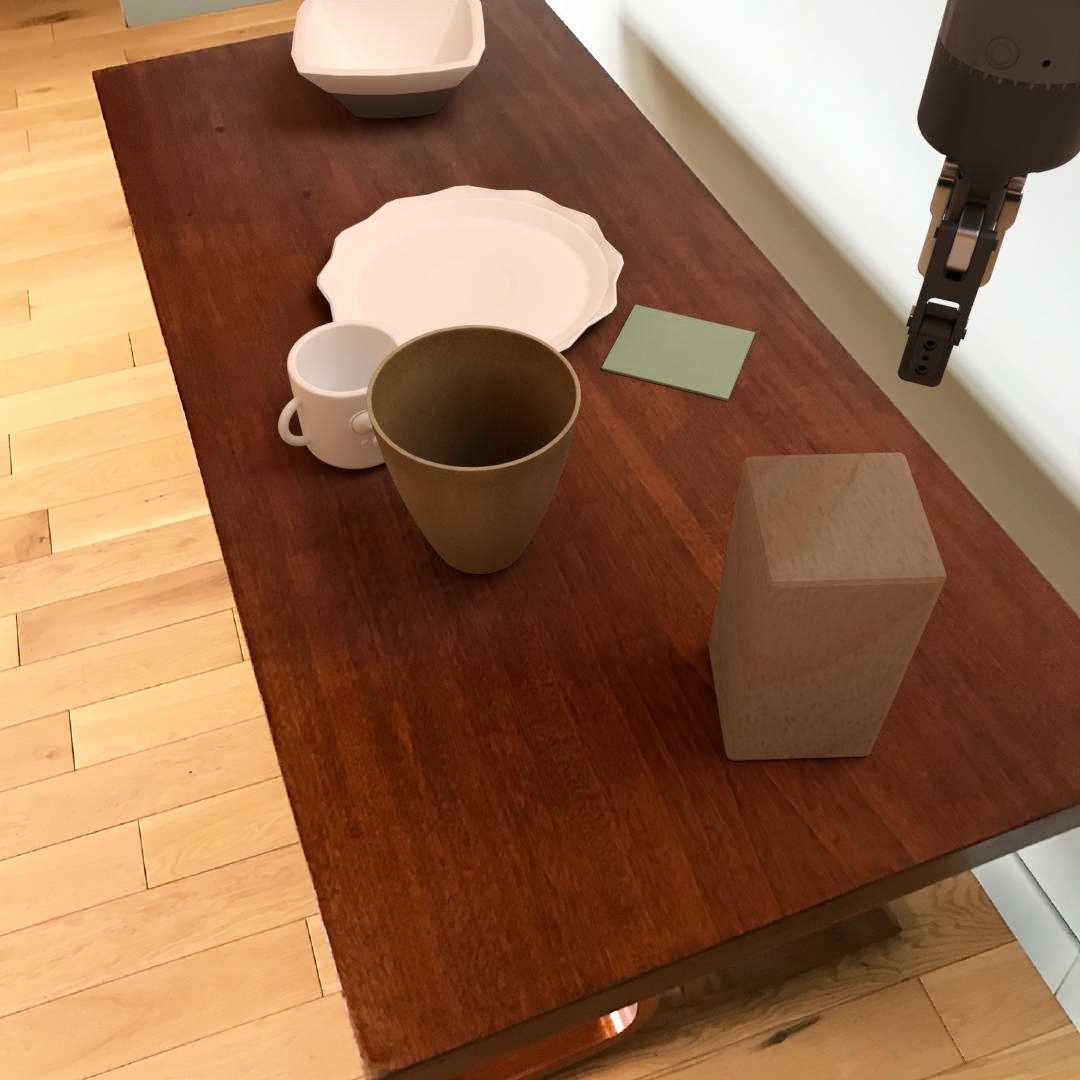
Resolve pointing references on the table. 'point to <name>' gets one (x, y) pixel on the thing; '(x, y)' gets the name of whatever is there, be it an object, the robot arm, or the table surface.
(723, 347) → the mat
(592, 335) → the table surface
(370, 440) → the mug
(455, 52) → the bowl
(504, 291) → the plate
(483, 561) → the plant pot
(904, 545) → the wooden block
